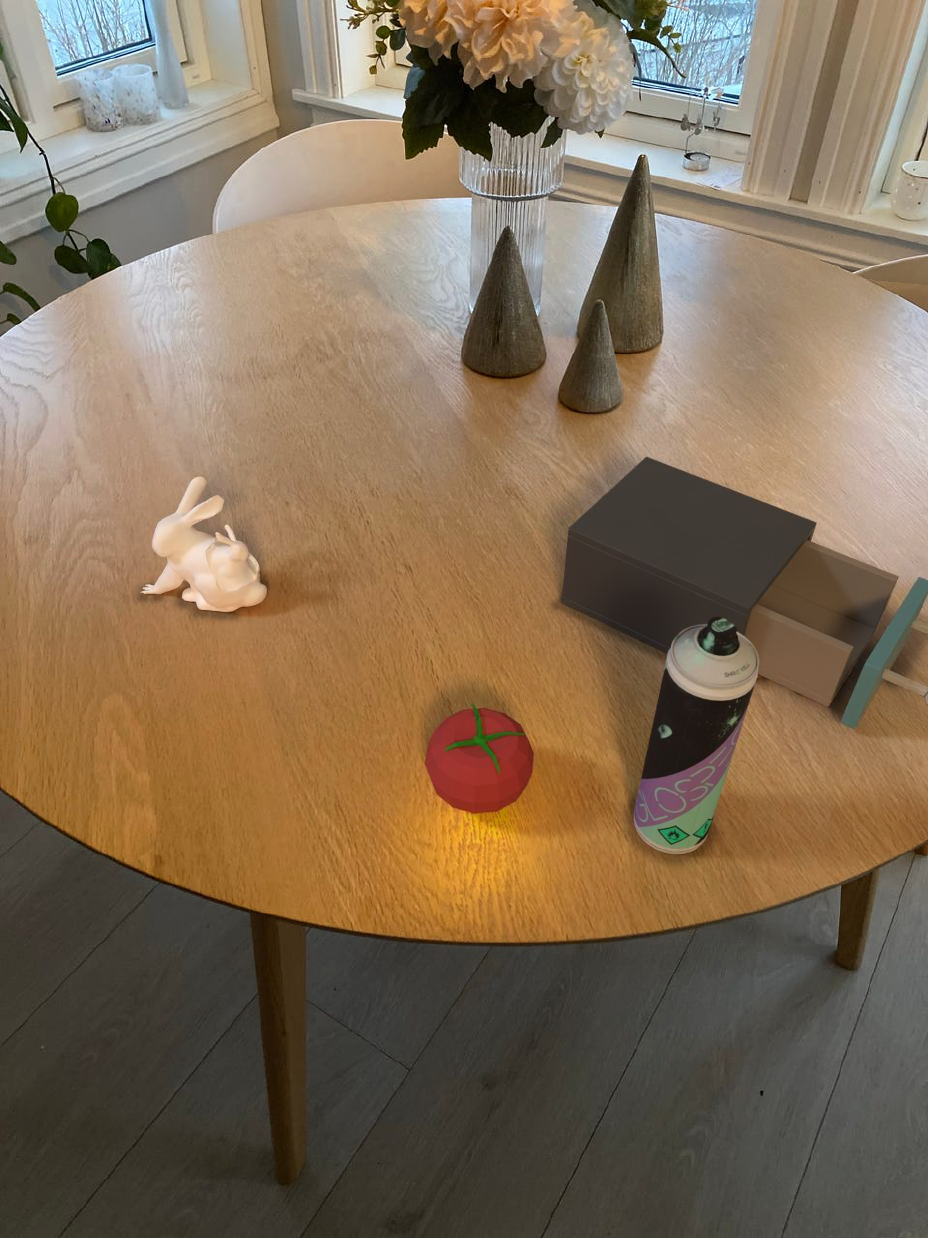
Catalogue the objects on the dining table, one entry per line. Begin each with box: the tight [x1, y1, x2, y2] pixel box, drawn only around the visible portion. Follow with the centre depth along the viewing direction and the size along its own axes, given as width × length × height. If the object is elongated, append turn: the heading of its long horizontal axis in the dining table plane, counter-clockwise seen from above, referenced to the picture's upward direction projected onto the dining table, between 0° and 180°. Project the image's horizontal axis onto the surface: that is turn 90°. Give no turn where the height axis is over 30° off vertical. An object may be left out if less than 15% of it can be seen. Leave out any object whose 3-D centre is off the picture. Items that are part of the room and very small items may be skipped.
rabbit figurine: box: [140, 476, 268, 613], centre depth 85 cm, size 12×8×10 cm, turn 67°
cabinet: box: [560, 456, 817, 655], centre depth 85 cm, size 17×14×9 cm
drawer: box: [744, 540, 928, 730], centre depth 79 cm, size 20×12×7 cm, turn 53°
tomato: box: [424, 702, 535, 815], centre depth 69 cm, size 8×8×8 cm
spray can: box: [633, 617, 759, 855], centre depth 63 cm, size 6×6×20 cm
